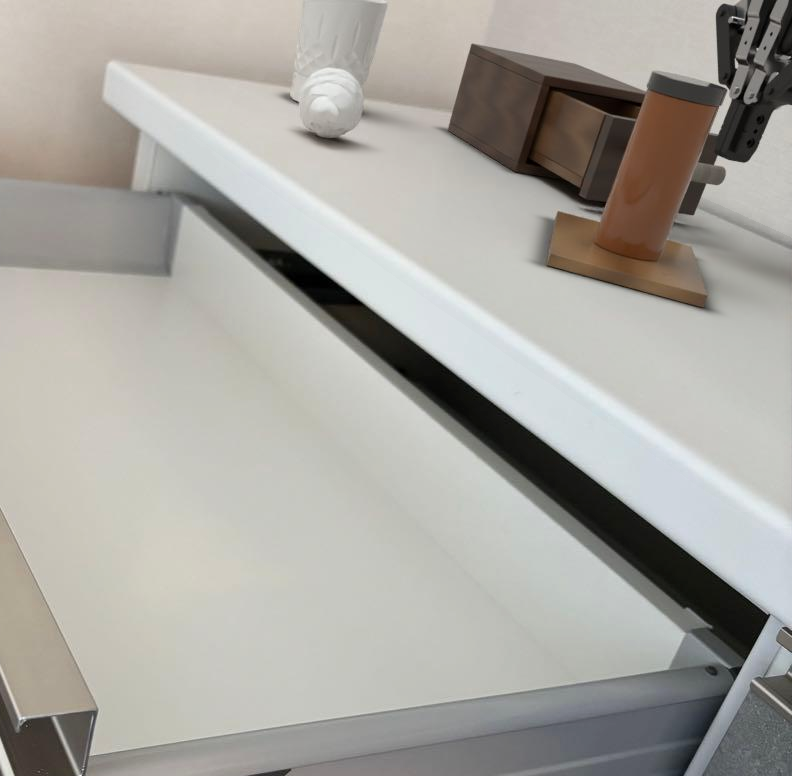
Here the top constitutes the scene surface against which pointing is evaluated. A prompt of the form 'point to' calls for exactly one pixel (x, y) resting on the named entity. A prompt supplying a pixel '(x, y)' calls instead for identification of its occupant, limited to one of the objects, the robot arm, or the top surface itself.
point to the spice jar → (658, 164)
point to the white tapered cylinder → (337, 38)
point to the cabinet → (519, 101)
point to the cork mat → (625, 262)
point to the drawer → (602, 145)
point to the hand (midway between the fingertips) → (730, 158)
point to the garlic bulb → (331, 102)
